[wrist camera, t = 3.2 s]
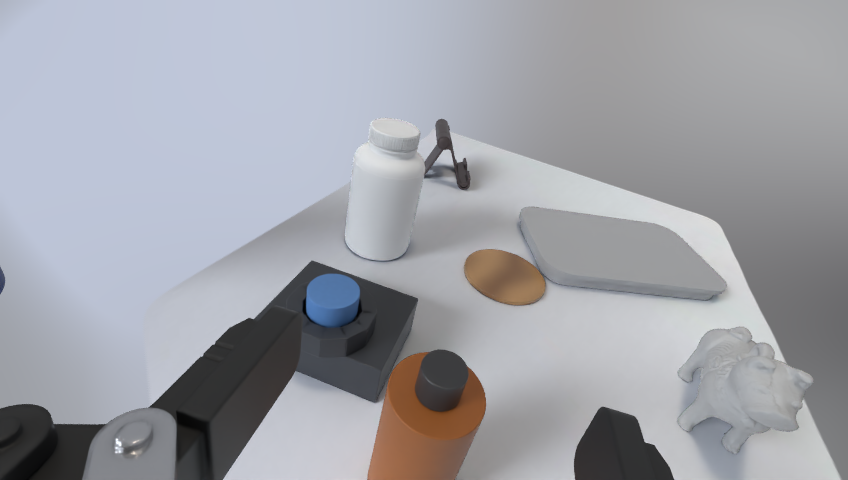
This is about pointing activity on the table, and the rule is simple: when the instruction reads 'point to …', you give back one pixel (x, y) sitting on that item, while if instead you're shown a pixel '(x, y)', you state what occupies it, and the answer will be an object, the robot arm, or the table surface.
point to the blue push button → (332, 300)
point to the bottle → (427, 418)
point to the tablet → (616, 255)
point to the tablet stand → (446, 143)
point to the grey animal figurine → (742, 386)
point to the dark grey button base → (351, 334)
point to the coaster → (504, 277)
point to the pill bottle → (384, 190)
